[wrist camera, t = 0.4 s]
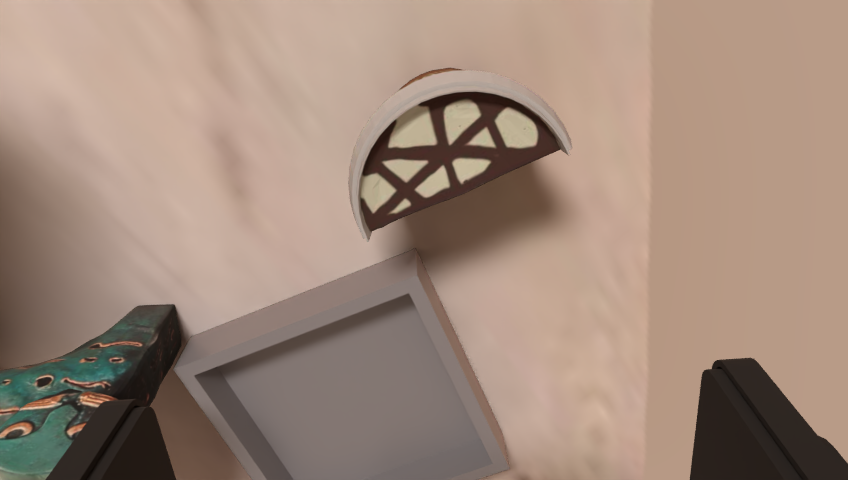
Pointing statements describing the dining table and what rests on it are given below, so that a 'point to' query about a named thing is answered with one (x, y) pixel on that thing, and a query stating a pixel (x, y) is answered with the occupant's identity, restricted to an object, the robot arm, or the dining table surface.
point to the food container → (446, 142)
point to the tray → (347, 384)
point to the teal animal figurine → (81, 389)
